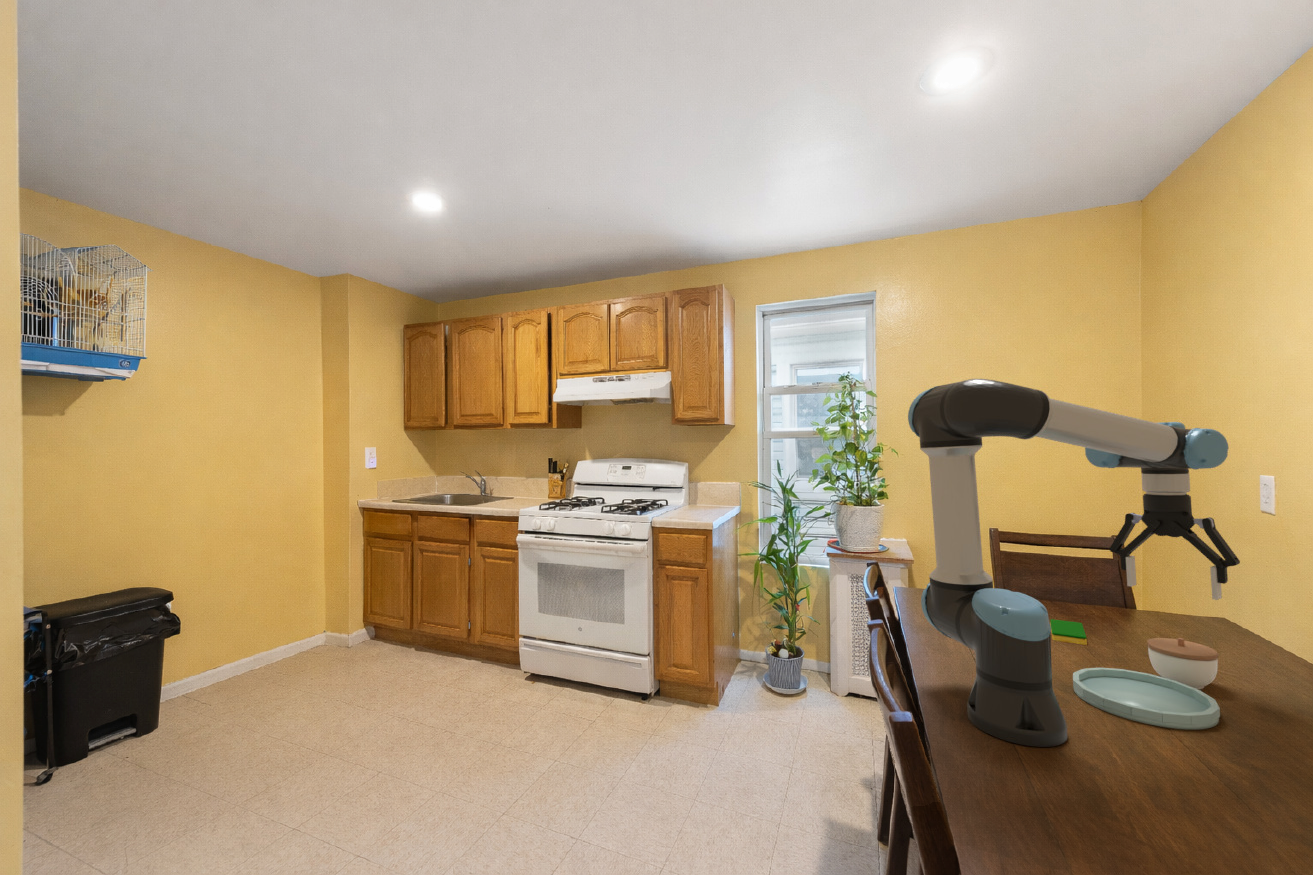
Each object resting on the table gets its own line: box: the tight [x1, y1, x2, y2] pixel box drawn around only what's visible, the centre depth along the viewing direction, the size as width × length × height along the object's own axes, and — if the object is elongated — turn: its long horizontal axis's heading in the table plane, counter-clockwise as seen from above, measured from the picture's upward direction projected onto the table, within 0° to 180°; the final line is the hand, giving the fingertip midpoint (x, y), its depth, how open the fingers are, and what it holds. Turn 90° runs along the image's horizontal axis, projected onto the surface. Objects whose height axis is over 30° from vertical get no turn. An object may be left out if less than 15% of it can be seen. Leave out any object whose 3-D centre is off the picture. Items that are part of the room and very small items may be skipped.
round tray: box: [1072, 667, 1221, 731], centre depth 104 cm, size 21×21×2 cm
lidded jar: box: [1146, 637, 1219, 690], centre depth 112 cm, size 11×11×9 cm
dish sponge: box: [1049, 618, 1088, 646], centre depth 142 cm, size 7×14×2 cm, turn 145°
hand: (1172, 591), depth 113 cm, fingers open, 13 cm apart
